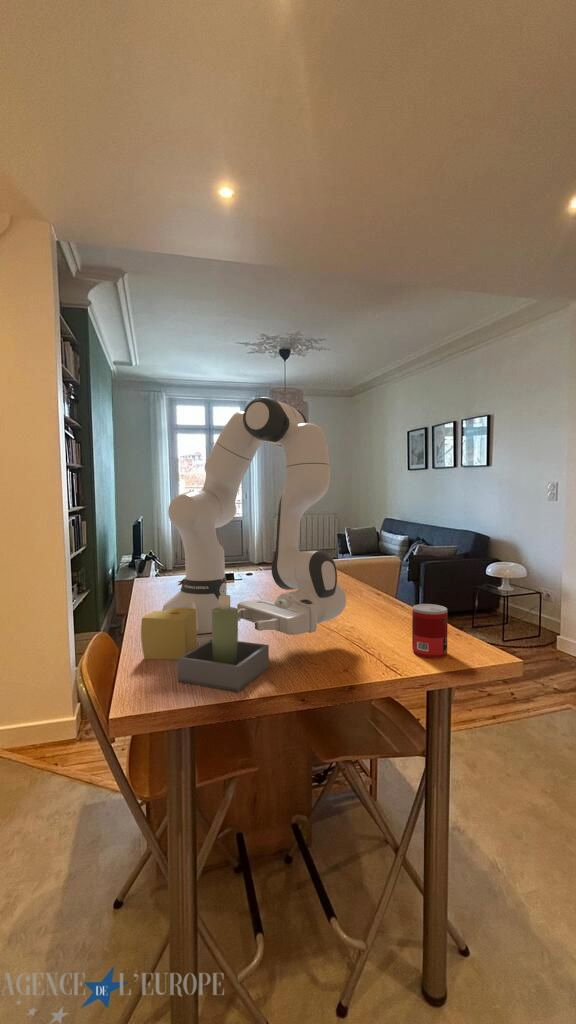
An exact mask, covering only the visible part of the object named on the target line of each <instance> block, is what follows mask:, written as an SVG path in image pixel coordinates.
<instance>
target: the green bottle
mask: <svg viewBox="0 0 576 1024" xmlns="http://www.w3.org/2000/svg"><path fill="white" fill-rule="evenodd" d="M238 624H239V621H238V609H237V607H233V606H231V595H230V594H226V595H220V596H219V608H215V609H212V632H211V639H212V662H219V663H225V664H232V665H238V641H239V625H238Z"/></svg>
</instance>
